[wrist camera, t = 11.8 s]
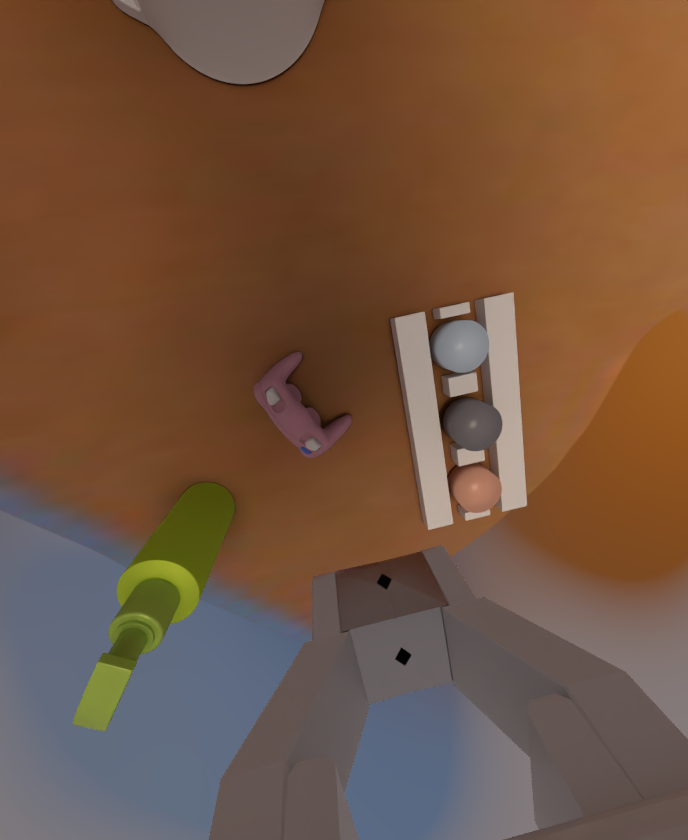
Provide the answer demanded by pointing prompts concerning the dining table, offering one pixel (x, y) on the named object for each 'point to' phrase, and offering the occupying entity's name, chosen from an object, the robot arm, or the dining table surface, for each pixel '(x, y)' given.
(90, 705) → the soap dispenser
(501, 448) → the button board
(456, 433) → the charcoal button
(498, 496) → the terracotta button
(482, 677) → the robot arm
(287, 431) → the video game controller
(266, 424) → the dining table surface
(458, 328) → the pale blue button
